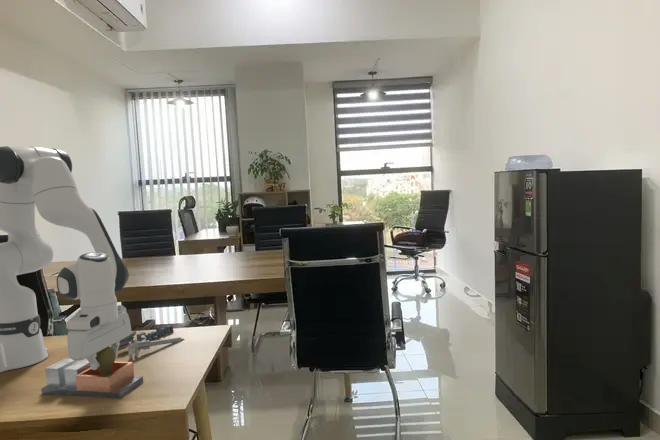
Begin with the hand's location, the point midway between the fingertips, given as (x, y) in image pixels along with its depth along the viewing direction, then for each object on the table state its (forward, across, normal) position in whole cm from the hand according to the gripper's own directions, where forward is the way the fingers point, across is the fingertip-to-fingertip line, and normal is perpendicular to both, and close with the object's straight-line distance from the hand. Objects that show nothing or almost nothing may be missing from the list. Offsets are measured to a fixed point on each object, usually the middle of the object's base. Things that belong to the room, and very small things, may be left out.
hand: (104, 363), depth 126 cm
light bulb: (+5, 0, 0) cm, 5 cm away
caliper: (+7, -29, -3) cm, 30 cm away
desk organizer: (+7, 0, -3) cm, 8 cm away
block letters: (+7, -34, -12) cm, 37 cm away
